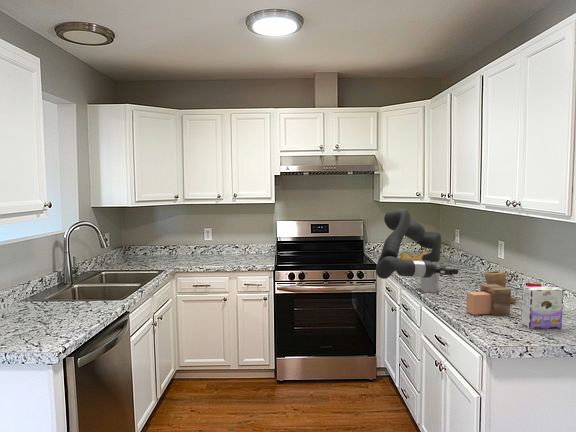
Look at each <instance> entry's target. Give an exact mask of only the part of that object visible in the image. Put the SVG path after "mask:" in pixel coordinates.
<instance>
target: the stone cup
mask: <svg viewBox="0 0 576 432" xmlns="http://www.w3.org/2000/svg"><path fill="white" fill-rule="evenodd" d="M484 279H485V282H486V284H497V285H500V286H503V287H506V285H507V275H506V272H505V271H500V270H493V271H491V270H490V271H486V272H485V274H484ZM517 301H518V300H517V299H516V298H514V297H512V296H511V301H510V304H513V303H515V302H517Z"/></svg>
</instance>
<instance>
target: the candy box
mask: <svg viewBox="0 0 576 432" xmlns="http://www.w3.org/2000/svg"><path fill="white" fill-rule="evenodd" d="M563 296H564V289H562V288H559V287H557V286H542V287H527V286H522V296H521V297H522V298H521V300H522V301H521V302H522V303H521V314H520V315H521V318H520V324H521V325H523V326H524V327H526V328H527V329H562V325H563V324H562V319H563V300H564V299H563V298H564V297H563Z"/></svg>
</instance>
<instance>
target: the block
mask: <svg viewBox="0 0 576 432" xmlns="http://www.w3.org/2000/svg"><path fill="white" fill-rule="evenodd" d="M465 311H466V312H467V313H469V314H471V315H473V316H476V315H491V311H492V293H491V292H488V291H485V292H480V291H468V292H466V307H465Z"/></svg>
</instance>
